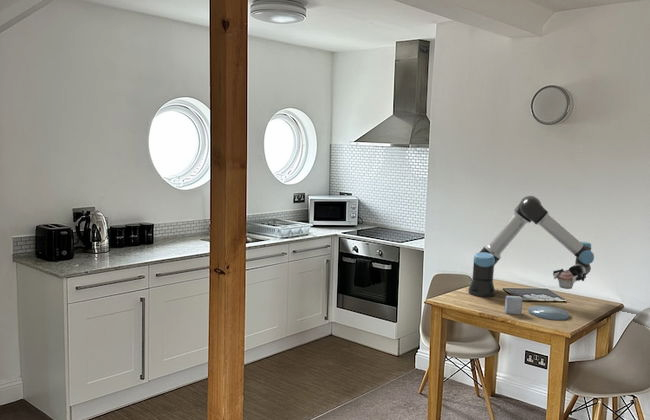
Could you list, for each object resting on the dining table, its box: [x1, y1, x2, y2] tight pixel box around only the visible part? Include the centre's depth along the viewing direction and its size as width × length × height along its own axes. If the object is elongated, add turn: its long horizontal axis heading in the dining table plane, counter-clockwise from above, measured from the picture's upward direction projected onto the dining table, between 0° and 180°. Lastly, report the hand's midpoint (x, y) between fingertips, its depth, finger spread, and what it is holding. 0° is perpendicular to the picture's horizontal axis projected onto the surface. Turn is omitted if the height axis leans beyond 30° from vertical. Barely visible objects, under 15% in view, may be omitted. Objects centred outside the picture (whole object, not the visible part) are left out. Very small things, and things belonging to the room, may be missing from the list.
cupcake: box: [556, 269, 575, 290], centre depth 326 cm, size 9×9×10 cm
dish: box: [528, 305, 570, 321], centre depth 317 cm, size 20×20×2 cm
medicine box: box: [504, 295, 523, 315], centre depth 316 cm, size 8×4×9 cm, turn 84°
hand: (563, 278), depth 323 cm, fingers closed on cupcake, 9 cm apart
